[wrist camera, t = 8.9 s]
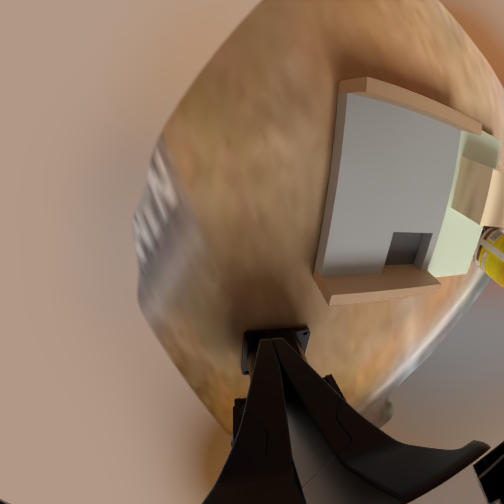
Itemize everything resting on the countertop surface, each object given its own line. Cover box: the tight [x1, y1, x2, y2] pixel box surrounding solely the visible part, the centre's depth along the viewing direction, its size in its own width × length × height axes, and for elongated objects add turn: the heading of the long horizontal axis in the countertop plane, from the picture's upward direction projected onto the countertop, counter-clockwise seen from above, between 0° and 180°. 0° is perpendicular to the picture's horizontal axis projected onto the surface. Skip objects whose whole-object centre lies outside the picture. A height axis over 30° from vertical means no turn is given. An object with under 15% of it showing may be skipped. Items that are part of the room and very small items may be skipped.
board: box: [313, 77, 501, 306], centre depth 19 cm, size 20×16×4 cm
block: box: [451, 156, 504, 228], centre depth 18 cm, size 7×5×4 cm
